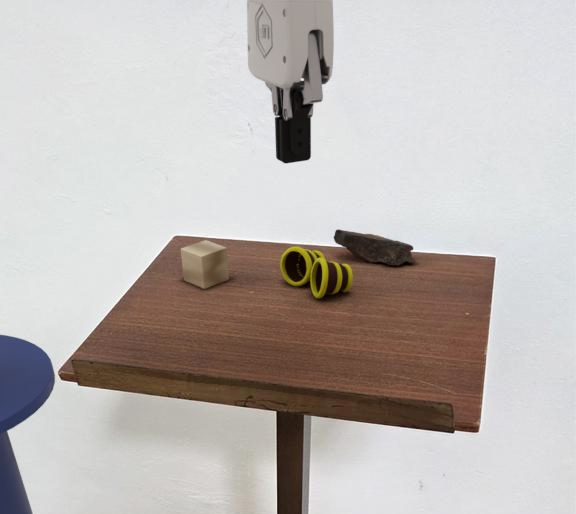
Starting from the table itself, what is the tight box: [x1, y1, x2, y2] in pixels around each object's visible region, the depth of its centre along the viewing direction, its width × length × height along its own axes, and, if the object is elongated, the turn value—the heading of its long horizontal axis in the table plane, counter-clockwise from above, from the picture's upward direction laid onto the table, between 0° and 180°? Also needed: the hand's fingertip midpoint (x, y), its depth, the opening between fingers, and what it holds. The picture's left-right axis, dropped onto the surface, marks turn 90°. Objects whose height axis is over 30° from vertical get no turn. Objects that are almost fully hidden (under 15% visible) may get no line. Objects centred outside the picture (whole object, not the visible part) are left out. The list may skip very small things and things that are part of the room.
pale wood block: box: [180, 239, 230, 290], centre depth 100 cm, size 4×4×4 cm
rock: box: [333, 228, 416, 266], centre depth 105 cm, size 12×7×5 cm, turn 57°
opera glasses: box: [279, 246, 354, 299], centre depth 97 cm, size 10×5×5 cm, turn 36°
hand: (293, 159), depth 76 cm, fingers closed
